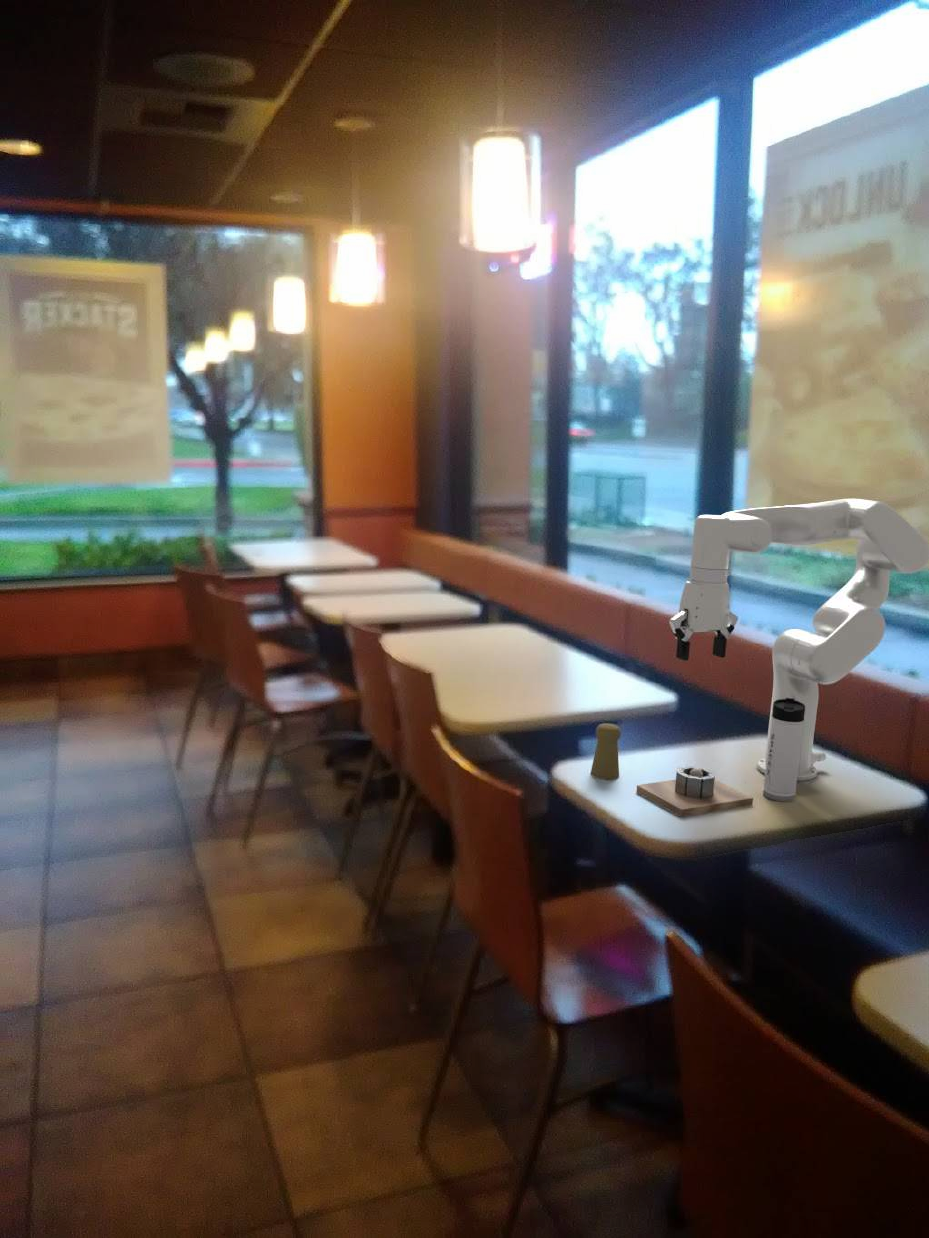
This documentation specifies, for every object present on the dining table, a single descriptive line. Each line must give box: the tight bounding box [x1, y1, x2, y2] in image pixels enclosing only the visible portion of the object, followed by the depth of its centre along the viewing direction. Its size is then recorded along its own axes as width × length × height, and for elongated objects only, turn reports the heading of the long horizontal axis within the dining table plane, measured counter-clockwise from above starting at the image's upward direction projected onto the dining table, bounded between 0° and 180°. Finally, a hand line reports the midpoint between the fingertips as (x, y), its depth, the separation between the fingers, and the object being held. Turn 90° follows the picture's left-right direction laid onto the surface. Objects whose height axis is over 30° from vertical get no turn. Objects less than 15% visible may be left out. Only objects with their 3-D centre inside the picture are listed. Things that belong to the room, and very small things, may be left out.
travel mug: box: [762, 698, 805, 803], centre depth 207 cm, size 6×7×20 cm
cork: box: [590, 722, 622, 781], centre depth 216 cm, size 6×6×11 cm
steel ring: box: [675, 765, 716, 799], centre depth 204 cm, size 7×7×4 cm
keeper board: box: [636, 768, 754, 818], centre depth 205 cm, size 18×14×6 cm
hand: (700, 657), depth 212 cm, fingers open, 9 cm apart
